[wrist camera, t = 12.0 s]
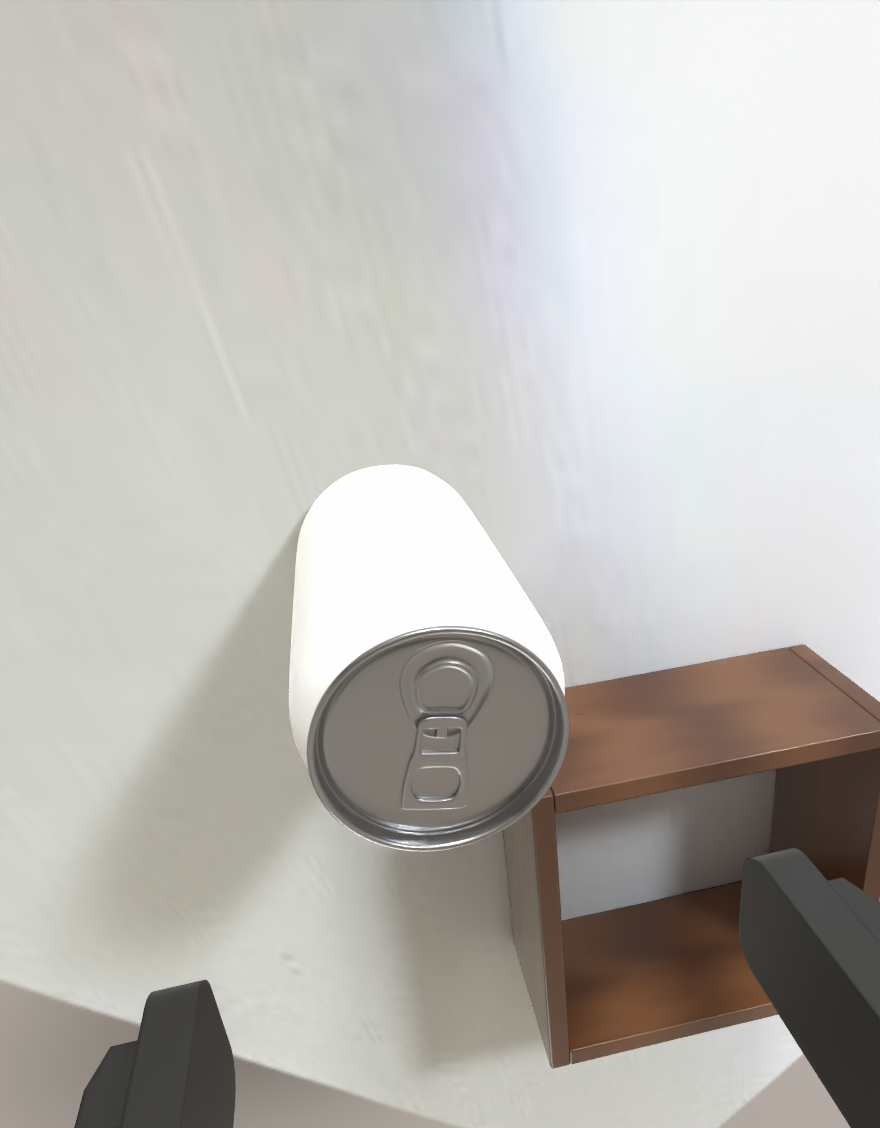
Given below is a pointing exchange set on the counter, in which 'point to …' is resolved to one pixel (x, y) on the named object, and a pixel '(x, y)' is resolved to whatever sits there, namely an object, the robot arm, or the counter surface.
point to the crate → (704, 918)
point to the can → (418, 667)
